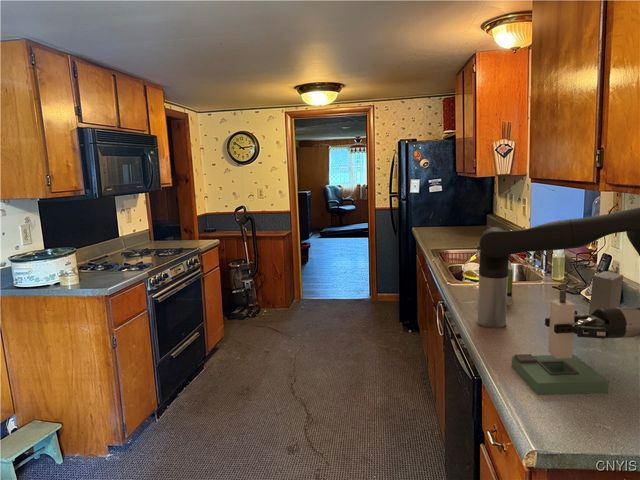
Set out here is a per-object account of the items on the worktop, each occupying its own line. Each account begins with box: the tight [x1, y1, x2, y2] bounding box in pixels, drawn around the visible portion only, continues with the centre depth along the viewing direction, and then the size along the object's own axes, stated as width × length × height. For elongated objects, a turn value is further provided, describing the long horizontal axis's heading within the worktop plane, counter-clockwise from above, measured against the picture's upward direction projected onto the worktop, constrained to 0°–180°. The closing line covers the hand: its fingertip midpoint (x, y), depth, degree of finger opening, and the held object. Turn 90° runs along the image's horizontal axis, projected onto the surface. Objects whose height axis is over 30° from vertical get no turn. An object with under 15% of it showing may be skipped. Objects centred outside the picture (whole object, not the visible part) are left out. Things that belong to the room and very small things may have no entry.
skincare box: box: [588, 270, 624, 315], centre depth 155 cm, size 8×7×16 cm
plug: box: [547, 289, 576, 358], centre depth 113 cm, size 4×4×17 cm
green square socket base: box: [511, 353, 610, 396], centre depth 116 cm, size 15×17×4 cm
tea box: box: [507, 260, 514, 306], centre depth 180 cm, size 15×10×15 cm
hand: (550, 325), depth 113 cm, fingers closed on plug, 4 cm apart
